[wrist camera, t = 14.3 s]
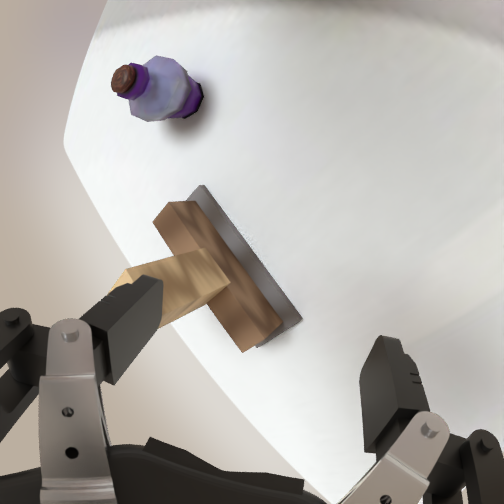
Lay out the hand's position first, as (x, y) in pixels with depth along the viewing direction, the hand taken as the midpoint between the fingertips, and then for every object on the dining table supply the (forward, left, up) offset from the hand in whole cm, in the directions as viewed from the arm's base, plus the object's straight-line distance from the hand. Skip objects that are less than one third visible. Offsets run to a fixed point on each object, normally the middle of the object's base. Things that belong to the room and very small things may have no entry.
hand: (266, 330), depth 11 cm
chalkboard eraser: (-7, -14, -23) cm, 28 cm away
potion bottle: (-28, -5, -24) cm, 37 cm away
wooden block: (-7, -14, -17) cm, 23 cm away
